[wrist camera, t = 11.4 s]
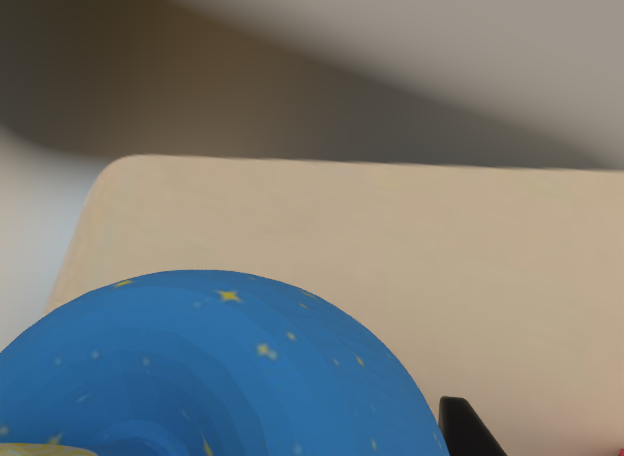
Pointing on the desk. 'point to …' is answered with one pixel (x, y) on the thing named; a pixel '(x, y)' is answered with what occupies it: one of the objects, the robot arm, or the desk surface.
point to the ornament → (207, 376)
